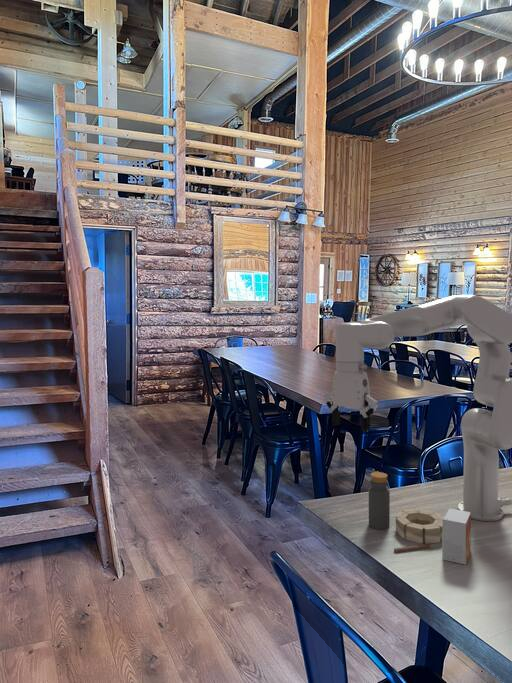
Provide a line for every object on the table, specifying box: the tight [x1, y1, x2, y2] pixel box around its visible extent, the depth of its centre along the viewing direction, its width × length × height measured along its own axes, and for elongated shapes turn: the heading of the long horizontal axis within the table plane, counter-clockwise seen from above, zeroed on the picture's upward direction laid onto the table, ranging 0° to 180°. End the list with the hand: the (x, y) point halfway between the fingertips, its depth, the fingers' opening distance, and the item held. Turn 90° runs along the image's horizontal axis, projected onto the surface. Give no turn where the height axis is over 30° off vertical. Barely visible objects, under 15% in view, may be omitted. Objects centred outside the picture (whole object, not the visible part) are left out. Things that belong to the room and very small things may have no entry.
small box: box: [441, 507, 472, 566], centre depth 127 cm, size 8×6×10 cm
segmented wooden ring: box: [395, 508, 444, 545], centre depth 140 cm, size 12×12×4 cm
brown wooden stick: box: [393, 543, 432, 554], centre depth 130 cm, size 10×1×1 cm, turn 102°
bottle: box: [368, 471, 391, 531], centre depth 144 cm, size 6×6×15 cm
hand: (350, 428), depth 140 cm, fingers open, 9 cm apart
